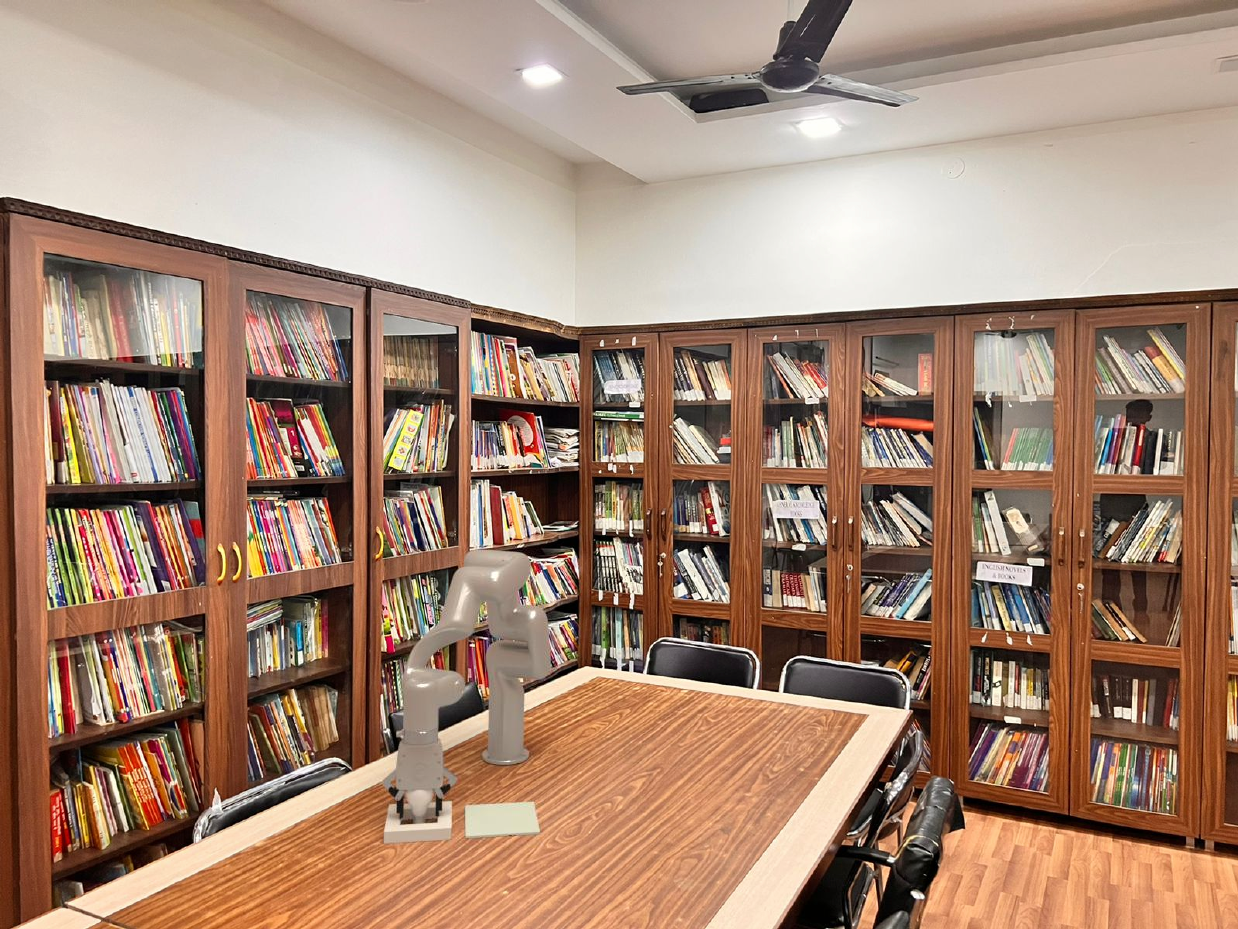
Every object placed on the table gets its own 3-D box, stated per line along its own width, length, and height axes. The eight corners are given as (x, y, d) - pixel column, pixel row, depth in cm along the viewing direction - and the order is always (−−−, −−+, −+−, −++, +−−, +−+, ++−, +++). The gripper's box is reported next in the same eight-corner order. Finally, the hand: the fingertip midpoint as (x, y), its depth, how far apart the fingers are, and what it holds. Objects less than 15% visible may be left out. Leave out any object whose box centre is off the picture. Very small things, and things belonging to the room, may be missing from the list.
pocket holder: (389, 815, 196) (389, 804, 196) (451, 812, 199) (452, 801, 199) (383, 843, 182) (383, 832, 182) (451, 839, 185) (451, 828, 185)
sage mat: (465, 807, 201) (465, 805, 201) (533, 803, 204) (533, 801, 204) (465, 838, 186) (465, 836, 186) (539, 834, 188) (539, 831, 188)
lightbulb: (436, 821, 194) (437, 772, 194) (431, 833, 188) (431, 783, 187) (407, 820, 194) (408, 772, 193) (401, 833, 187) (402, 783, 187)
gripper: (378, 743, 185) (377, 825, 185) (460, 739, 188) (459, 820, 188) (381, 731, 192) (380, 810, 193) (460, 728, 195) (459, 806, 196)
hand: (419, 814), depth 191 cm, fingers open, 7 cm apart
